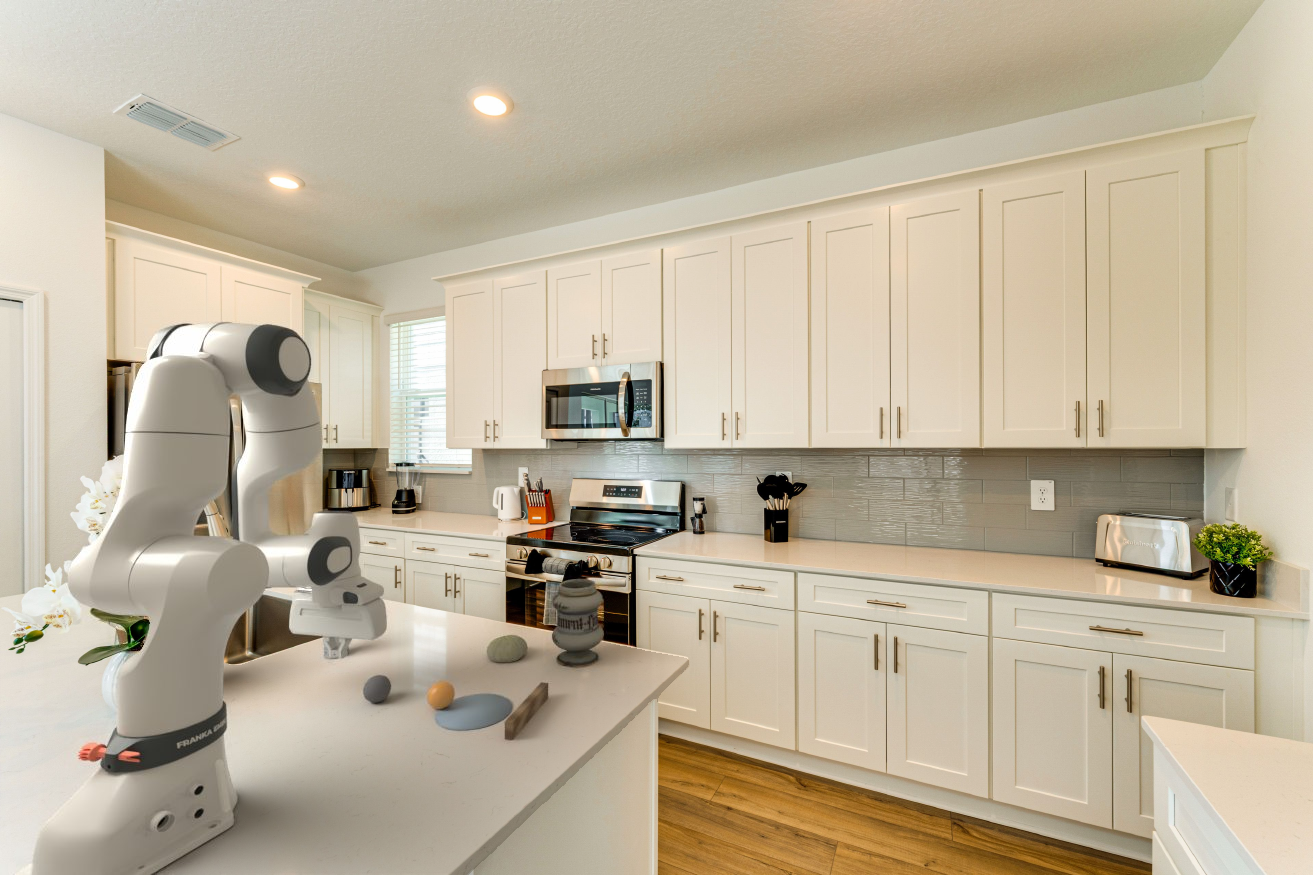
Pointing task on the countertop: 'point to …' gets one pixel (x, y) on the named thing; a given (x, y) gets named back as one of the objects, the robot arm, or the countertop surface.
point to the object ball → (441, 695)
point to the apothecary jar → (577, 622)
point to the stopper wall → (526, 711)
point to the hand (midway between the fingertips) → (338, 656)
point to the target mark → (474, 712)
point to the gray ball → (377, 688)
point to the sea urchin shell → (507, 648)
